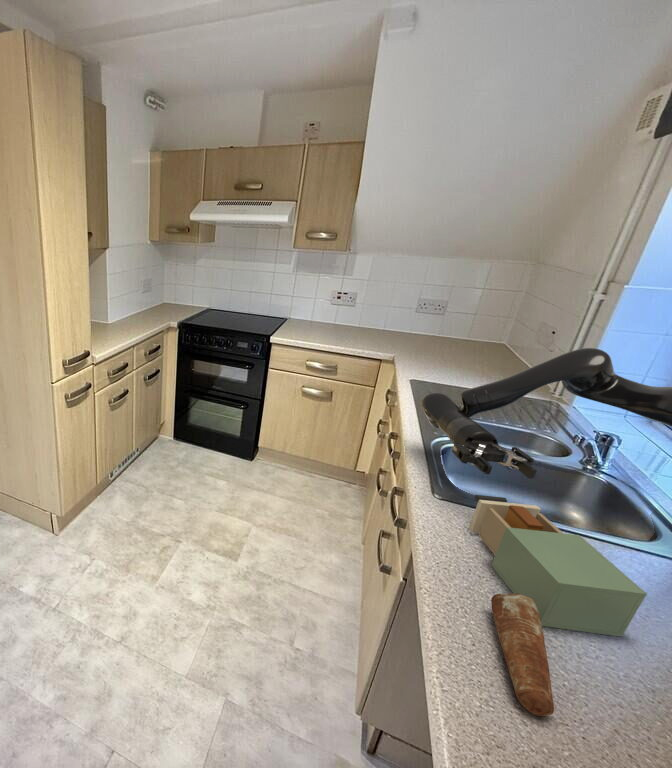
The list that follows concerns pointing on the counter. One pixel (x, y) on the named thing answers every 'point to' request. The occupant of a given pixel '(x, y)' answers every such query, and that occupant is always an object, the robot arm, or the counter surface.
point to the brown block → (522, 519)
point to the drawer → (500, 519)
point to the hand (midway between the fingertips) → (511, 472)
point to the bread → (524, 650)
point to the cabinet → (567, 581)
